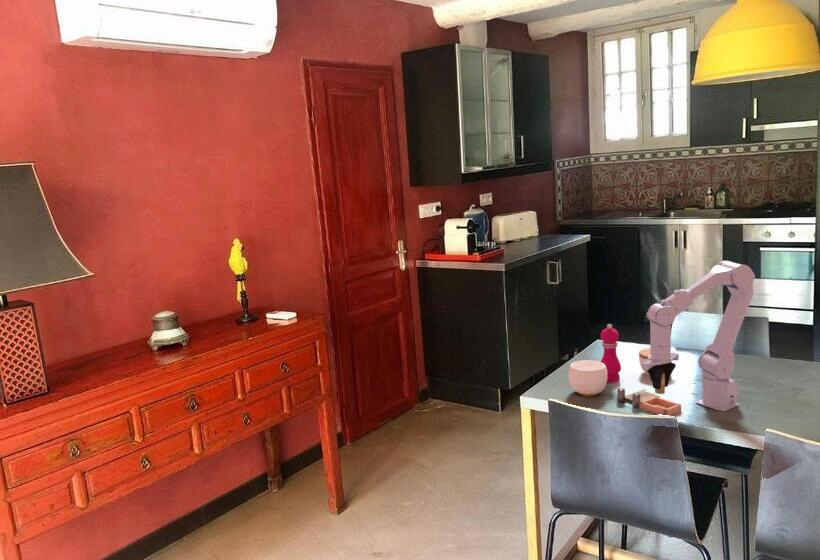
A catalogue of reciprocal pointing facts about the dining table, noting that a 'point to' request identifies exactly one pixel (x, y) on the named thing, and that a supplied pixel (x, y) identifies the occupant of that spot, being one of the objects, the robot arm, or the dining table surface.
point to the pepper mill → (610, 354)
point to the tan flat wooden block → (643, 396)
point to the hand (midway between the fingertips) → (660, 387)
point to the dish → (660, 406)
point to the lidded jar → (644, 357)
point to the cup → (588, 377)
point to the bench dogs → (635, 398)
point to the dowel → (662, 389)
